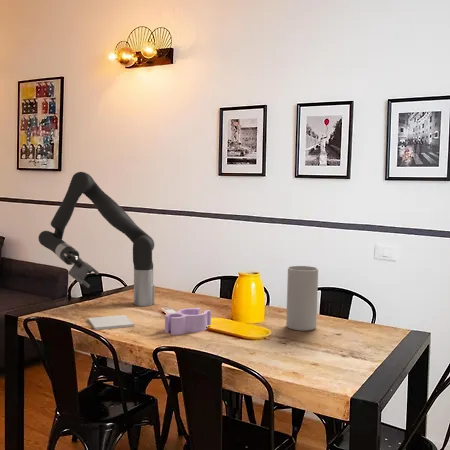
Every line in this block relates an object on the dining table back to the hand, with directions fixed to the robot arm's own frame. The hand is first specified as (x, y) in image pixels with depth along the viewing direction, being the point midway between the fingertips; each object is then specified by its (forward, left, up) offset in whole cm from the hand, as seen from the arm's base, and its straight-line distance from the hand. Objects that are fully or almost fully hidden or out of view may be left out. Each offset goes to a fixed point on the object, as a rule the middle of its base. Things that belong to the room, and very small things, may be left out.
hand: (86, 269), depth 248 cm
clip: (-35, +35, -21) cm, 54 cm away
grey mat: (-7, +16, -21) cm, 27 cm away
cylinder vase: (-80, +49, -21) cm, 96 cm away
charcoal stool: (+3, 0, -5) cm, 6 cm away
